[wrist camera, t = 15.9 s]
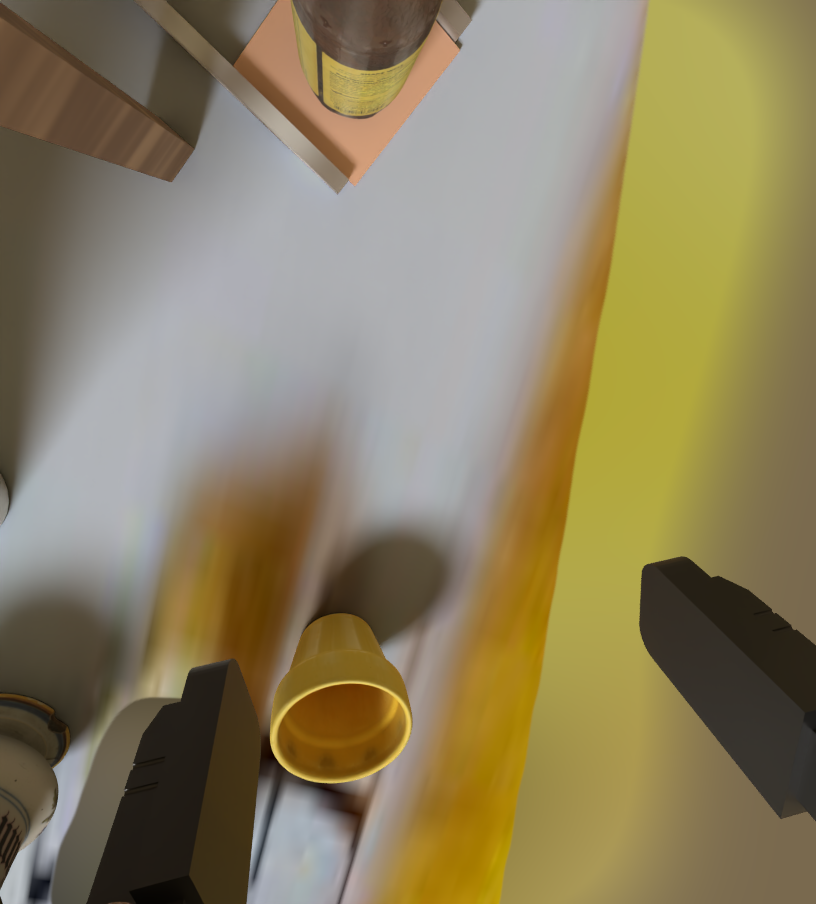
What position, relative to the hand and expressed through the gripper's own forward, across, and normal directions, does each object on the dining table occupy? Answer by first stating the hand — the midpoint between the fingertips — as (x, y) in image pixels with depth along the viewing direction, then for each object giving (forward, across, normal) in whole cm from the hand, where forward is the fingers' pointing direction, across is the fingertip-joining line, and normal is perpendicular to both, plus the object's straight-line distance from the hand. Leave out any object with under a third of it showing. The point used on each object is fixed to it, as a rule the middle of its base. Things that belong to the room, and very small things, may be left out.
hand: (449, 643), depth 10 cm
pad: (+30, -3, -16) cm, 34 cm away
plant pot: (+30, +6, +26) cm, 40 cm away
